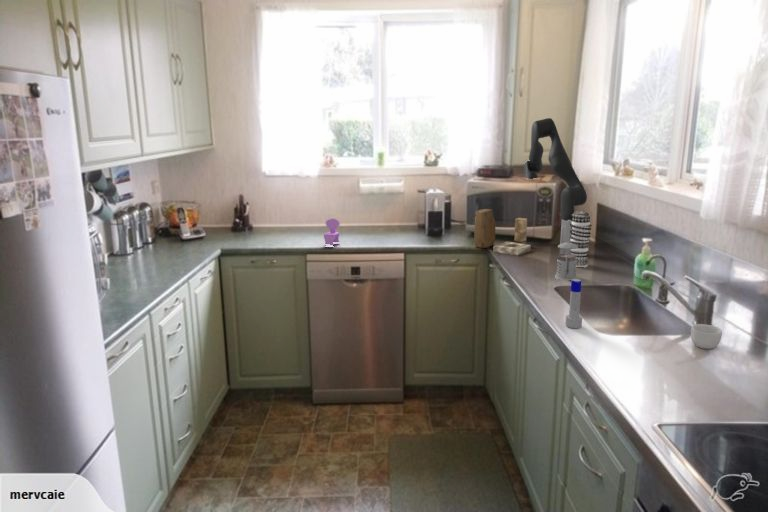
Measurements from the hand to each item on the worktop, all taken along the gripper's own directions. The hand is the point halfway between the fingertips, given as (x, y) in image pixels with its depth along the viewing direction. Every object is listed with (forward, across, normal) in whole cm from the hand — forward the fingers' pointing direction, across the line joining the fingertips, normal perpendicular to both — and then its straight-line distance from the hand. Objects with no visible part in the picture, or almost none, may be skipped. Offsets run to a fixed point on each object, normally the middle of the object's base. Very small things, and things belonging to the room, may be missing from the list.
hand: (524, 212), depth 293 cm
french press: (+58, +28, -33) cm, 72 cm away
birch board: (+28, -2, -4) cm, 28 cm away
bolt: (+97, +36, -73) cm, 127 cm away
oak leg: (+19, 0, +4) cm, 20 cm away
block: (+23, -18, +1) cm, 29 cm away
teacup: (+99, +73, -75) cm, 144 cm away
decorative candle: (+41, +31, -17) cm, 54 cm away
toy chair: (+40, -98, -16) cm, 107 cm away
